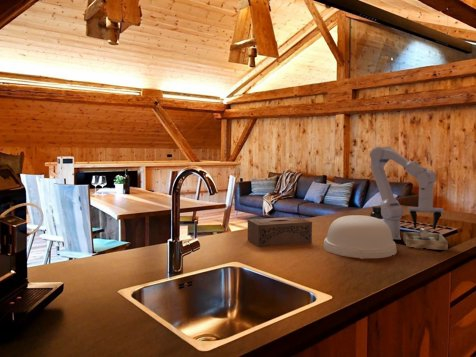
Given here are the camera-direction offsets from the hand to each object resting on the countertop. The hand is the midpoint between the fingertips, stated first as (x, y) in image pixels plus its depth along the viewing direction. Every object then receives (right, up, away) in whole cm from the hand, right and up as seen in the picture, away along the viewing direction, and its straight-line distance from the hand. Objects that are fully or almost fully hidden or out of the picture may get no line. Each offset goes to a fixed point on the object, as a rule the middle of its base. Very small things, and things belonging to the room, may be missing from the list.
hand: (424, 228), depth 181 cm
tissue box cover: (-64, -7, +6) cm, 65 cm away
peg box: (0, -7, +1) cm, 7 cm away
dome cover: (-31, -8, -7) cm, 33 cm away
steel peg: (0, -7, +1) cm, 7 cm away
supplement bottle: (-10, -5, +33) cm, 35 cm away
